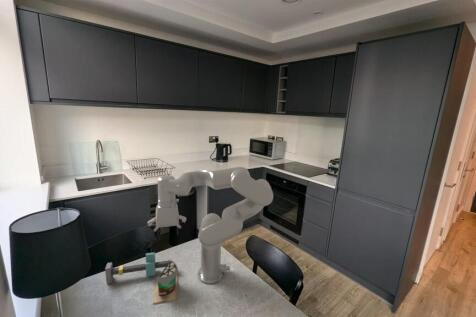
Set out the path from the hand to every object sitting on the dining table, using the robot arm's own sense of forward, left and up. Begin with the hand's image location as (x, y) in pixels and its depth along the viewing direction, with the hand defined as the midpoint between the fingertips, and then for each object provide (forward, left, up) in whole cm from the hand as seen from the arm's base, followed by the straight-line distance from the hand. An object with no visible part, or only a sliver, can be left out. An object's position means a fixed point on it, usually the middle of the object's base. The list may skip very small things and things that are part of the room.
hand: (167, 236), depth 108 cm
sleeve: (+8, -1, -19) cm, 21 cm away
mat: (+1, +11, -20) cm, 23 cm away
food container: (-1, +11, -20) cm, 23 cm away
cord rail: (+12, -1, -20) cm, 24 cm away
